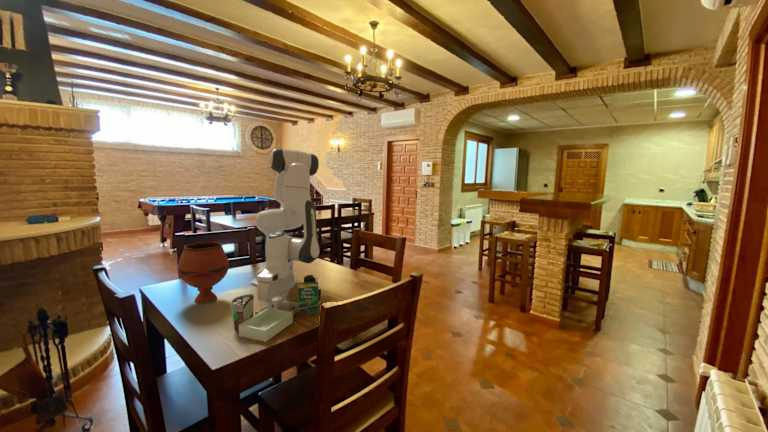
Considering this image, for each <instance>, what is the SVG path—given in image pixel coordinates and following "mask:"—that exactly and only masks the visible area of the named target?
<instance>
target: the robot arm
mask: <svg viewBox="0 0 768 432" xmlns="http://www.w3.org/2000/svg"><path fill="white" fill-rule="evenodd" d="M268 157H269V158H268V164H269V167H270V169H271V170H272V171H274V172H276V175H275V180H274V187H273V194H272V195H273V198H274V199H275V201H276V202H278V203H280V207H279V208H273V209H271V208H270V209H266V210H262V211H259V212H258V213H257V214H256V216H255V225H256V228H257V229H258V230H259V231H260V232H262V233H263V234H264V235H265V237H266V240H265V247H264V248H265V249H264V250H265V254H264V255H265V260H264V261H265V265H264V266H263V267H261V268H259V269H258V270H257V272H256V274H255V275H256V276H255V278H254V279H252V280H251V282H250V285H253V286H257V300H258V301H259V302H264V303H266V305H268V308H272V309H273V308H274V304H272V303H271V301H272V299H273V298H274V297H279V295H281V294H282V296H281V298H283V301H288V296H289V293H290V289H292V288H294V287H295V284H296V283H297V281H296V278H295V273H294V261H297V262H301V263H304V264H311V263H313V262H314V261H316V260H317V259H318V257H319V256H320V253H321V251H320V250H321V249H320V243H319V239H318V238H319V237H318V225H317V212H316V205H315V202H313V201H312V199H311V193H310V190H311V176H314V175H316V174H317V172H318V170H319V165H320V162H319V158H318V156H317V155H316V154H313V153H308V152H305V151H302V150H297V149H285V148H281V147H279V148H278V147H277V148H274V149H272V150H271V152H270V154H269V156H268ZM302 225H303V238H301V237H293V236H290V235H288V234H287V232H285V231H286V230H287V231H288V230H294V229H297V228H300V227H301V226H302Z"/></svg>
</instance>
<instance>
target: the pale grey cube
mask: <svg viewBox="0 0 768 432" xmlns="http://www.w3.org/2000/svg"><path fill="white" fill-rule="evenodd" d="M281 310H283V311H289V312H290V311H292V310H293V306H292V303H283V304H282V305H281Z"/></svg>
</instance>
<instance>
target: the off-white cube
mask: <svg viewBox="0 0 768 432" xmlns="http://www.w3.org/2000/svg"><path fill="white" fill-rule="evenodd" d="M271 303H272V304H274V308H273V309H278V310H281V305H282V304H283V298H282V297H279V296H276V297H274V298H273V299H272V301H271Z"/></svg>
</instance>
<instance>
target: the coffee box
mask: <svg viewBox="0 0 768 432" xmlns="http://www.w3.org/2000/svg"><path fill="white" fill-rule="evenodd" d="M318 286H319V281H318V282H304V281H301V282H300V281H299V282H298V283H297V298H298V299H297V301H298V302H297V303H298V306H299V311H298V316H308V315H309V316H310V315H311V316H317V315H319V308H320V307H319V305H320V304H319V301H318Z"/></svg>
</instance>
